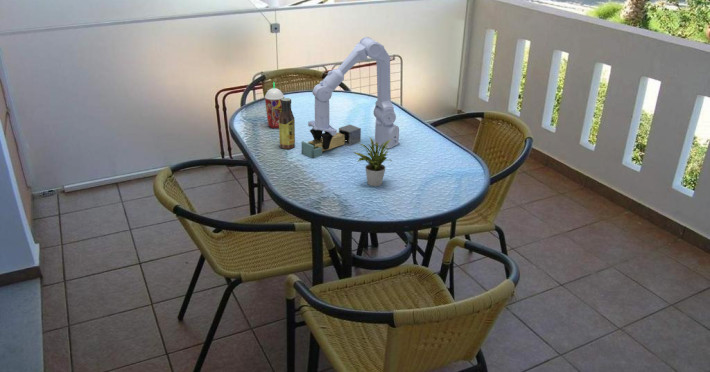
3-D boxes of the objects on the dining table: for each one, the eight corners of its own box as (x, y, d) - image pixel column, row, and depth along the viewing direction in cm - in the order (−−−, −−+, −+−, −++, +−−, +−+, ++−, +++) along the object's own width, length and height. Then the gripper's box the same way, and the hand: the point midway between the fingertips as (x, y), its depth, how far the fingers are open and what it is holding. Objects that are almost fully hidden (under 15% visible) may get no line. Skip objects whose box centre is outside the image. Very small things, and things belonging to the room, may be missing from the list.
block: (337, 141, 246) (337, 132, 245) (344, 144, 244) (344, 134, 242) (308, 151, 236) (308, 141, 234) (315, 154, 234) (314, 144, 232)
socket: (310, 150, 239) (310, 138, 237) (321, 155, 235) (321, 143, 232) (301, 153, 236) (301, 141, 234) (312, 158, 232) (312, 146, 229)
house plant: (372, 170, 222) (374, 129, 215) (403, 180, 214) (405, 138, 207) (348, 182, 212) (348, 139, 205) (379, 193, 204) (380, 149, 197)
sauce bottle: (292, 150, 239) (291, 102, 230) (277, 148, 240) (275, 101, 231) (297, 144, 244) (295, 97, 236) (282, 143, 245) (280, 96, 237)
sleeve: (349, 137, 253) (350, 124, 250) (360, 141, 248) (360, 128, 246) (338, 141, 248) (338, 128, 246) (349, 145, 244) (349, 132, 242)
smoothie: (283, 129, 260) (282, 85, 251) (264, 129, 260) (262, 84, 251) (286, 123, 267) (284, 79, 258) (267, 122, 267) (265, 79, 259)
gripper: (302, 112, 234) (302, 144, 240) (327, 122, 225) (327, 155, 231) (315, 109, 239) (316, 140, 245) (340, 117, 230) (340, 150, 235)
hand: (322, 147), depth 238 cm, fingers open, 4 cm apart
